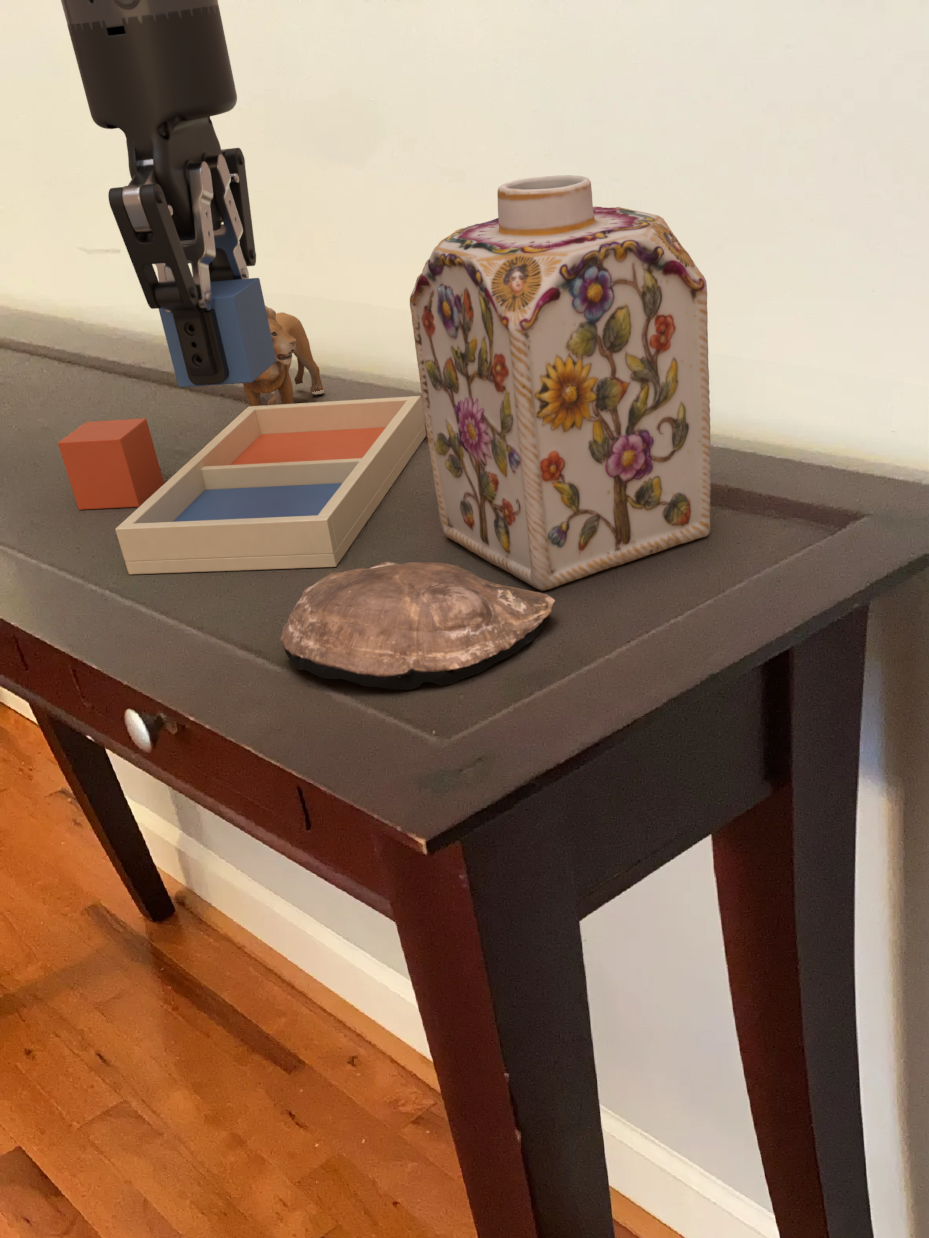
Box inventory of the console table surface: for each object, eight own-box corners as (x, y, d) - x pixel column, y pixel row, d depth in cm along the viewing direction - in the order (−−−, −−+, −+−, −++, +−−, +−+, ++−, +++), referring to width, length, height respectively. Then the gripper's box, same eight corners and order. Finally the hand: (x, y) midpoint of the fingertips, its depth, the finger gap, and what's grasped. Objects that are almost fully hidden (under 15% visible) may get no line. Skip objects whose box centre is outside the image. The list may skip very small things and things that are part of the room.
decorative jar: (437, 538, 76) (386, 192, 65) (601, 487, 80) (580, 154, 69) (540, 598, 67) (502, 212, 56) (718, 538, 71) (715, 167, 60)
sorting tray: (128, 574, 76) (114, 528, 74) (257, 445, 94) (248, 406, 93) (336, 567, 74) (326, 519, 72) (426, 435, 92) (420, 395, 90)
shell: (436, 717, 58) (424, 644, 56) (237, 667, 64) (219, 600, 62) (572, 616, 65) (566, 547, 63) (382, 580, 71) (370, 517, 69)
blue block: (178, 388, 72) (156, 301, 70) (205, 366, 76) (185, 283, 73) (252, 382, 72) (233, 295, 69) (277, 361, 75) (259, 277, 72)
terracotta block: (78, 510, 87) (57, 442, 84) (105, 487, 90) (85, 421, 87) (139, 507, 86) (119, 439, 83) (164, 484, 89) (146, 417, 87)
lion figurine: (313, 439, 94) (287, 307, 89) (242, 447, 94) (211, 316, 89) (328, 385, 106) (306, 266, 100) (265, 393, 106) (240, 274, 101)
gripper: (128, 8, 69) (208, 342, 80) (5, 25, 58) (116, 411, 69) (258, -9, 68) (322, 334, 78) (157, 6, 57) (247, 403, 67)
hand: (225, 368), depth 74 cm, fingers closed on blue block, 4 cm apart
